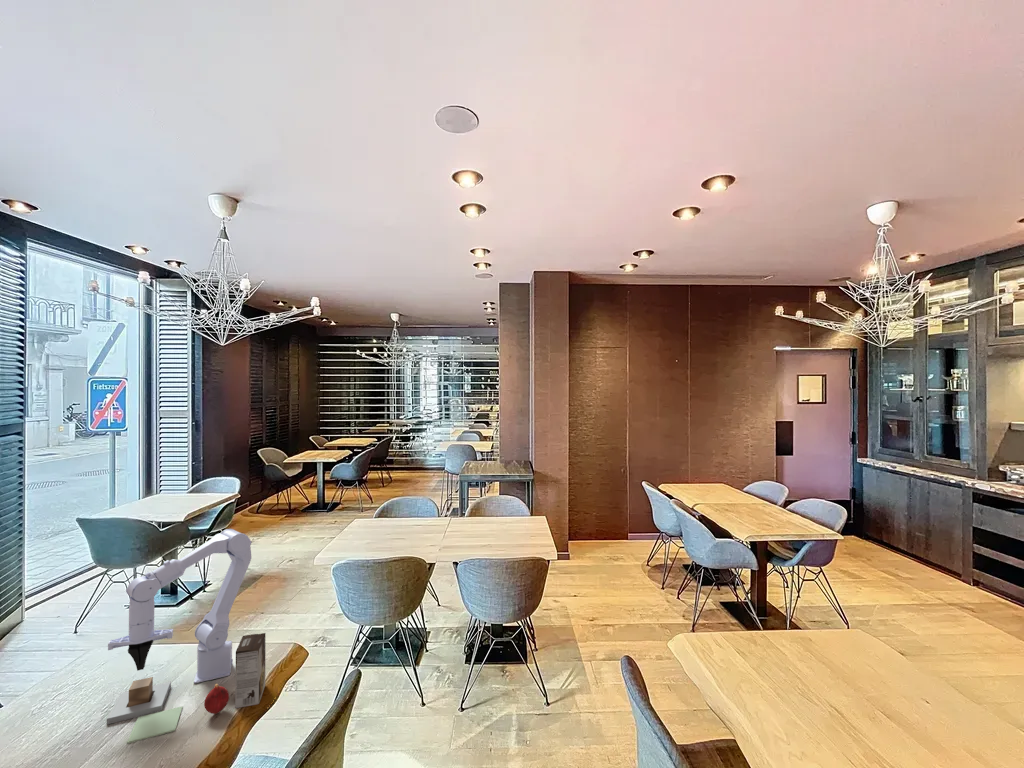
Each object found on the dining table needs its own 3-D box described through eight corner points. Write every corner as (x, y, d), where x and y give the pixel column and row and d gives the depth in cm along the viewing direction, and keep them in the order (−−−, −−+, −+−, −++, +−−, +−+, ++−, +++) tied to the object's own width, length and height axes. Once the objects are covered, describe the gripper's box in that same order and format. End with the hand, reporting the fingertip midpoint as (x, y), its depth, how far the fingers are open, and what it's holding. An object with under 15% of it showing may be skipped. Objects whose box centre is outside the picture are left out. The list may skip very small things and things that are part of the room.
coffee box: (242, 689, 139) (242, 635, 139) (266, 685, 141) (266, 631, 141) (234, 709, 130) (234, 651, 131) (259, 704, 132) (260, 647, 133)
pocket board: (170, 686, 140) (170, 681, 140) (161, 710, 130) (161, 705, 130) (120, 697, 135) (120, 692, 135) (106, 724, 124) (106, 718, 124)
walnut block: (152, 697, 135) (152, 676, 135) (148, 706, 131) (148, 685, 131) (133, 702, 133) (133, 681, 133) (128, 711, 129) (128, 690, 129)
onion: (233, 709, 130) (234, 680, 131) (214, 722, 125) (215, 693, 125) (218, 704, 132) (218, 676, 132) (199, 717, 127) (199, 688, 127)
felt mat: (182, 707, 131) (182, 706, 131) (175, 731, 122) (175, 729, 122) (138, 718, 127) (138, 717, 127) (127, 743, 118) (127, 742, 118)
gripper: (175, 609, 140) (174, 654, 139) (114, 619, 133) (113, 667, 133) (170, 619, 133) (169, 667, 133) (105, 631, 127) (104, 681, 127)
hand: (141, 668), depth 133 cm, fingers closed
